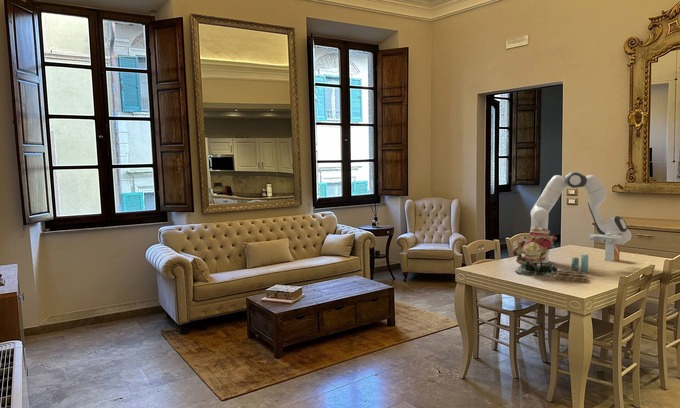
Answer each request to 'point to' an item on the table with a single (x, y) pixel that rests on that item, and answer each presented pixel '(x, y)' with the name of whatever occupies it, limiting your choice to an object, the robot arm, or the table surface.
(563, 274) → the socket board
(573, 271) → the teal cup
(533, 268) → the rose bouquet
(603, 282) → the table surface
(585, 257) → the dowel
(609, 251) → the small box
